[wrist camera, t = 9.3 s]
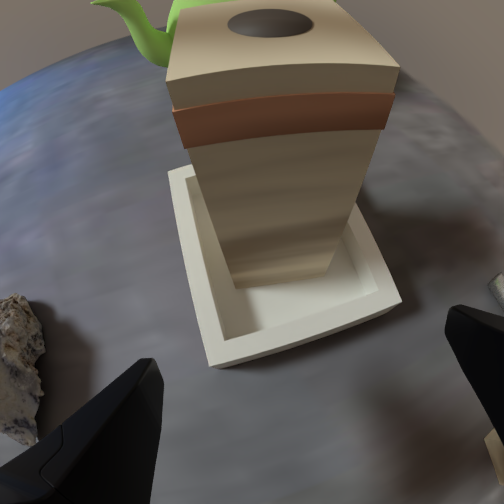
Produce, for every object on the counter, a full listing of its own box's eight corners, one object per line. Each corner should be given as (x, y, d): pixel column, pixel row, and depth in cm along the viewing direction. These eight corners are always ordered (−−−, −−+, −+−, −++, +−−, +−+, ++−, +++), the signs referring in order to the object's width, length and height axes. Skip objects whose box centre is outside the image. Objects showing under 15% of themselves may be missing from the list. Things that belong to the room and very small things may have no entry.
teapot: (147, 162, 22) (83, 17, 11) (126, 80, 28) (91, -14, 17) (374, 91, 25) (399, -27, 13) (298, 32, 31) (299, -56, 19)
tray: (385, 313, 16) (402, 301, 14) (218, 369, 16) (209, 366, 13) (312, 158, 21) (315, 133, 19) (177, 193, 21) (167, 171, 18)
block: (325, 277, 17) (403, 66, 5) (234, 290, 17) (162, 81, 5) (306, 201, 19) (331, -4, 7) (226, 212, 19) (178, 8, 7)
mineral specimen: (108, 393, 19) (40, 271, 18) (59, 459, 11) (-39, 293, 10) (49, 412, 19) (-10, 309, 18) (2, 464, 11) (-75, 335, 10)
